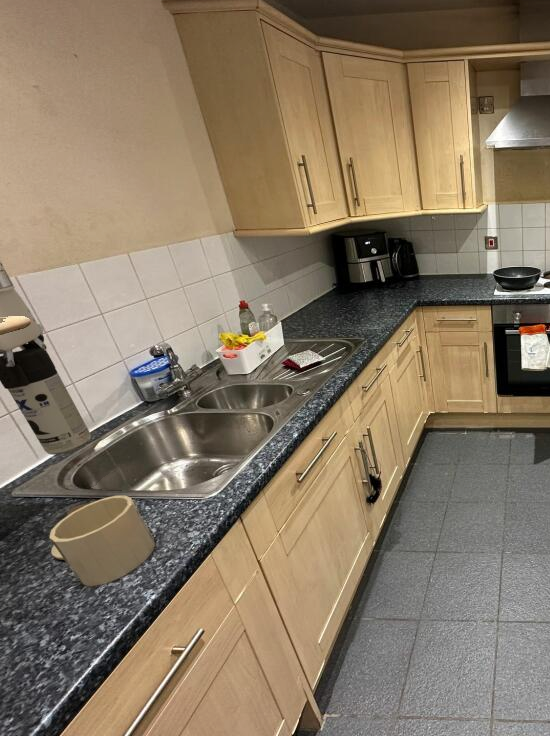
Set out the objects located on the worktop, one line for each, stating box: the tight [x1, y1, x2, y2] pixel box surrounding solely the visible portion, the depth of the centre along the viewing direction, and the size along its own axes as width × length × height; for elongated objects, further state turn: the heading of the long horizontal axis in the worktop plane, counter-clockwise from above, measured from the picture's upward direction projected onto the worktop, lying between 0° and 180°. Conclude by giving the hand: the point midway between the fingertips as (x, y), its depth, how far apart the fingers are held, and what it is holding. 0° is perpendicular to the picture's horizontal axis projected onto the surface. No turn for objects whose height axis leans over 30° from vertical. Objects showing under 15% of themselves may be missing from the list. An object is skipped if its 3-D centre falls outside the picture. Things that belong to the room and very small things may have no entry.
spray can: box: [0, 348, 92, 456], centre depth 78 cm, size 7×7×20 cm
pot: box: [49, 495, 156, 587], centre depth 72 cm, size 10×10×10 cm
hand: (31, 377), depth 76 cm, fingers closed on spray can, 6 cm apart
